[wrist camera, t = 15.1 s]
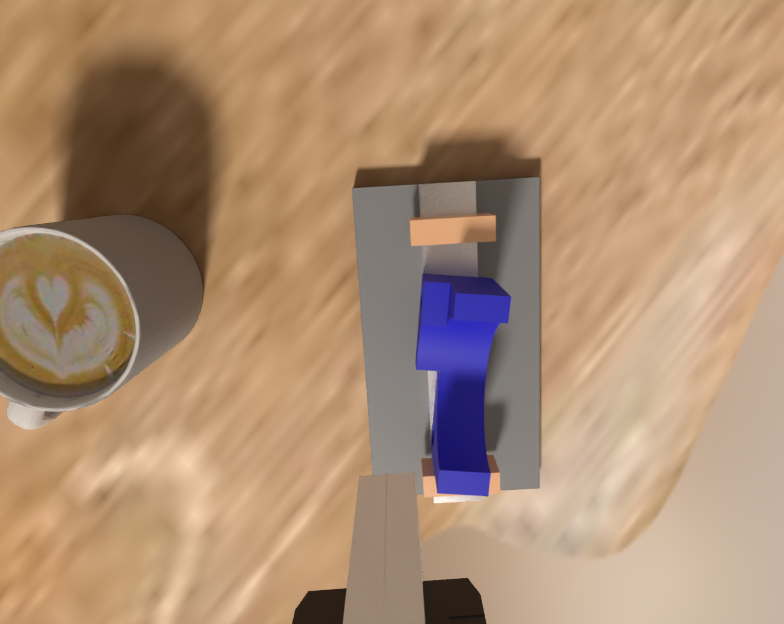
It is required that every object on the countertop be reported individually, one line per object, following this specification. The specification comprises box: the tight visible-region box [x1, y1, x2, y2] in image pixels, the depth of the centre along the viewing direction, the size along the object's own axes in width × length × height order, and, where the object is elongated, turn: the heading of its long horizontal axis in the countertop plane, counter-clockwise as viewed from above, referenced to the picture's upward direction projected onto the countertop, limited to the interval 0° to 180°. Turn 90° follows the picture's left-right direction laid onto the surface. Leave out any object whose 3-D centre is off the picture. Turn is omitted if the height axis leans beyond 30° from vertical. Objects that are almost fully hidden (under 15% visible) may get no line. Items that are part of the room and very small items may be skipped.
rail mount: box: [352, 177, 540, 503], centre depth 38 cm, size 22×12×5 cm, turn 3°
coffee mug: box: [0, 214, 203, 429], centre depth 35 cm, size 13×10×10 cm
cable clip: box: [415, 273, 511, 496], centre depth 35 cm, size 12×4×6 cm, turn 176°
